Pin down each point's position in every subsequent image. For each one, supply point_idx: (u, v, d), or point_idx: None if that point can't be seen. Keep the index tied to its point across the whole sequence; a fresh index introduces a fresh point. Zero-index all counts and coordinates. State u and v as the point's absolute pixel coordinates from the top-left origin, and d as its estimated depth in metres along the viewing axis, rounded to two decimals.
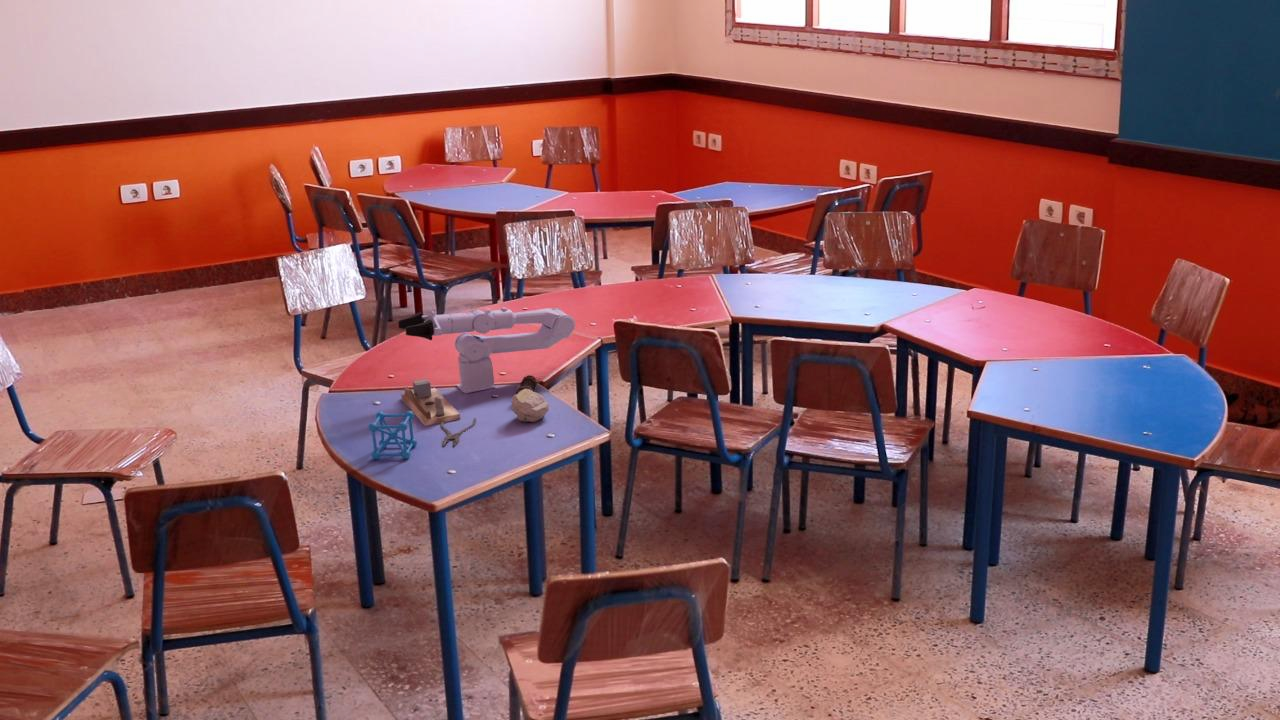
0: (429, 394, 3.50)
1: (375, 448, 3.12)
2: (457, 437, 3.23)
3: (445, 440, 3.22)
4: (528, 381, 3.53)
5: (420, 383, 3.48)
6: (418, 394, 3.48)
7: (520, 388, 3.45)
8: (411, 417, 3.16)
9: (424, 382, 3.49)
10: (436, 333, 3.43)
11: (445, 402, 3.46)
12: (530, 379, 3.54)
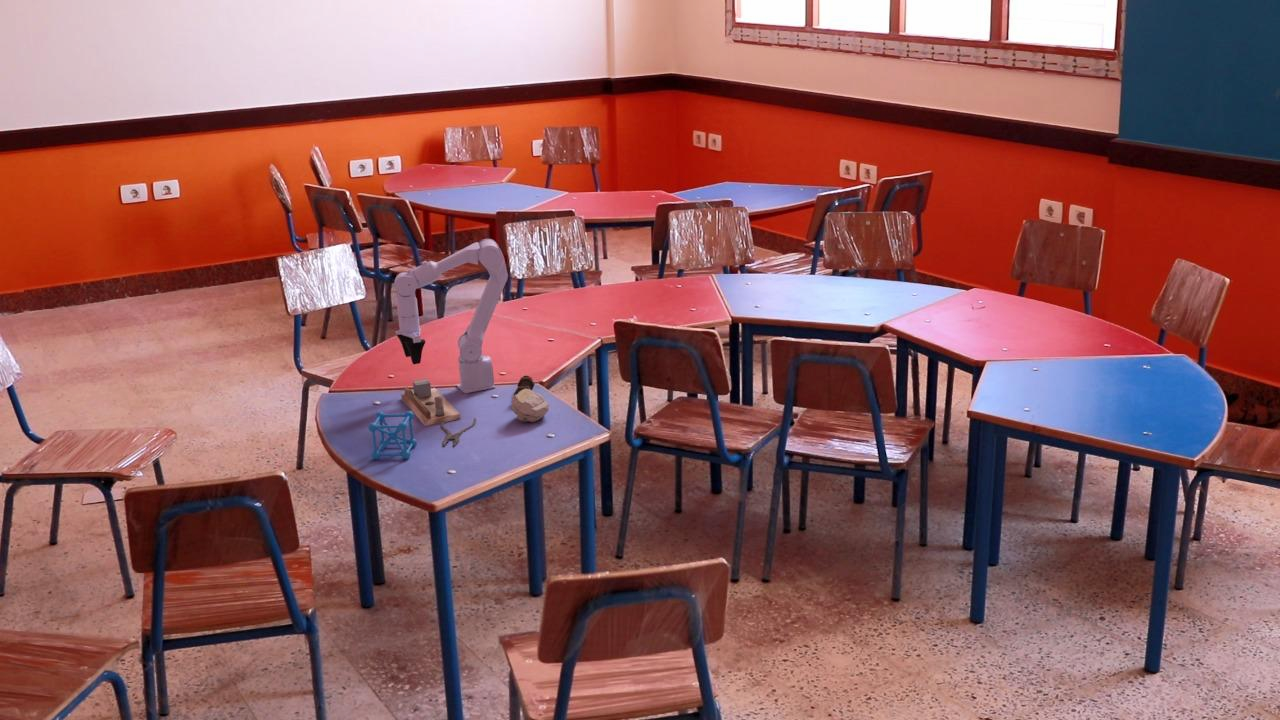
0: (429, 394, 3.50)
1: (375, 448, 3.12)
2: (457, 437, 3.23)
3: (445, 440, 3.22)
4: (526, 381, 3.53)
5: (420, 383, 3.48)
6: (418, 394, 3.48)
7: (519, 388, 3.44)
8: (411, 417, 3.16)
9: (424, 382, 3.49)
10: (418, 340, 3.46)
11: (445, 402, 3.46)
12: (527, 379, 3.54)
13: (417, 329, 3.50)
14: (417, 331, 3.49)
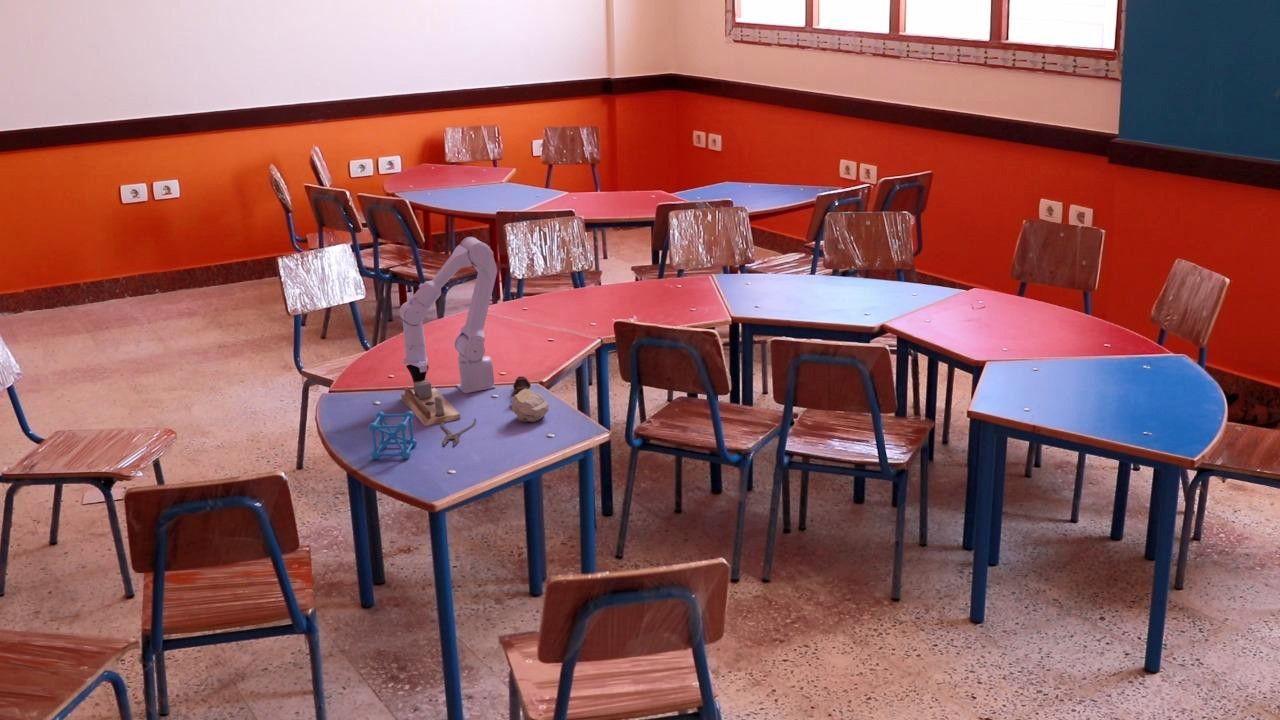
0: (430, 395, 3.49)
1: (375, 448, 3.12)
2: (457, 437, 3.23)
3: (445, 440, 3.22)
4: (522, 382, 3.52)
5: (421, 384, 3.48)
6: (419, 395, 3.48)
7: (518, 389, 3.44)
8: (411, 417, 3.16)
9: (425, 383, 3.48)
10: (425, 370, 3.44)
11: (445, 402, 3.46)
12: (524, 380, 3.53)
13: (424, 358, 3.48)
14: (424, 360, 3.48)
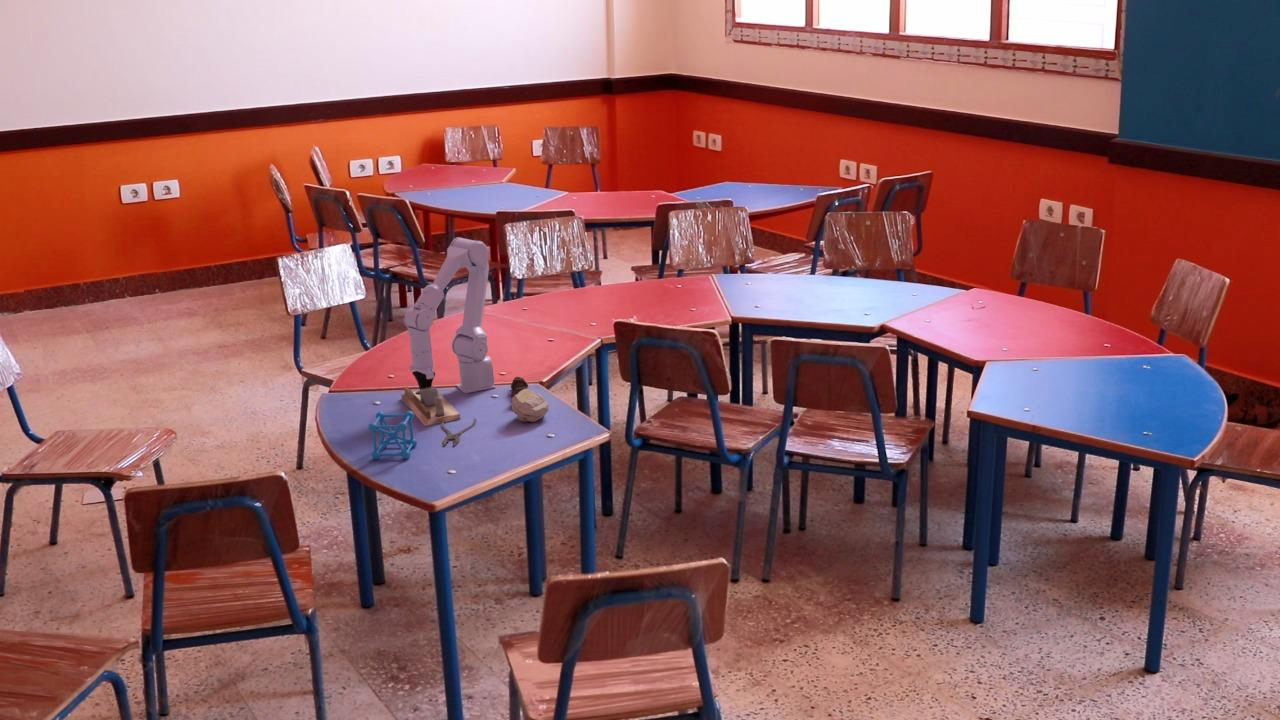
0: None
1: (375, 448, 3.12)
2: (457, 437, 3.23)
3: (445, 440, 3.22)
4: (520, 383, 3.52)
5: (427, 391, 3.42)
6: (425, 402, 3.42)
7: (518, 390, 3.44)
8: (411, 417, 3.16)
9: (431, 390, 3.43)
10: (432, 376, 3.39)
11: (445, 402, 3.46)
12: (521, 380, 3.53)
13: (430, 365, 3.43)
14: (430, 367, 3.43)
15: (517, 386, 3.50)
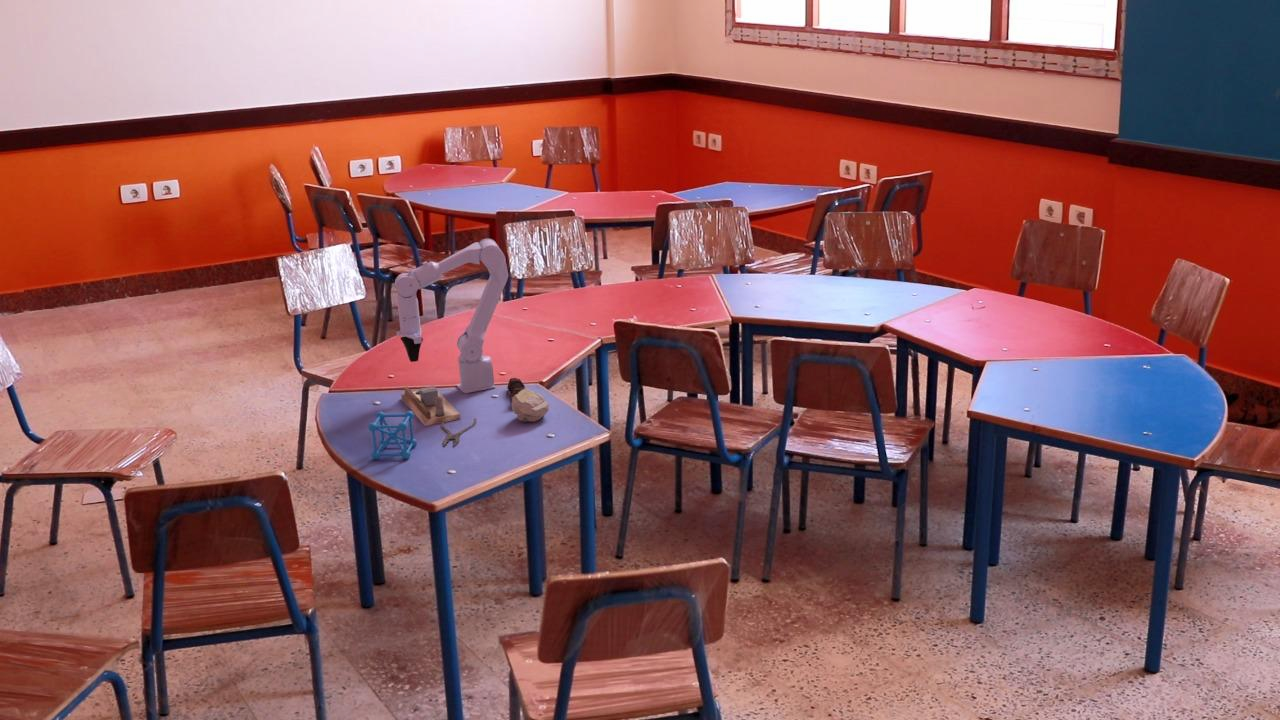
0: None
1: (375, 448, 3.12)
2: (457, 437, 3.23)
3: (445, 440, 3.22)
4: (517, 383, 3.52)
5: (427, 391, 3.42)
6: (425, 402, 3.42)
7: (517, 390, 3.43)
8: (411, 417, 3.16)
9: (431, 390, 3.43)
10: (419, 341, 3.45)
11: (445, 402, 3.46)
12: (518, 381, 3.53)
13: (418, 330, 3.49)
14: (418, 332, 3.49)
15: (515, 387, 3.49)
